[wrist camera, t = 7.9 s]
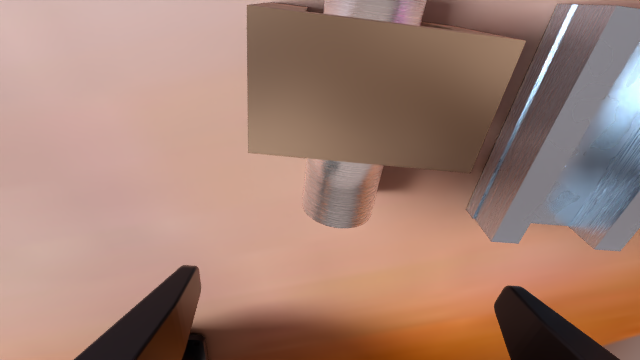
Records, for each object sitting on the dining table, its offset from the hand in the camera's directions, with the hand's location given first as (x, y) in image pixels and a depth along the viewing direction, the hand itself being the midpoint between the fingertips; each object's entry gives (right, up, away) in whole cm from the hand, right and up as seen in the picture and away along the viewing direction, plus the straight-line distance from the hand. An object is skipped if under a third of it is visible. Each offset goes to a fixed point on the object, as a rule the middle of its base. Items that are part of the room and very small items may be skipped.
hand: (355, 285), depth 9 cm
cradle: (+11, +5, +6) cm, 14 cm away
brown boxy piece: (0, +8, +4) cm, 9 cm away
